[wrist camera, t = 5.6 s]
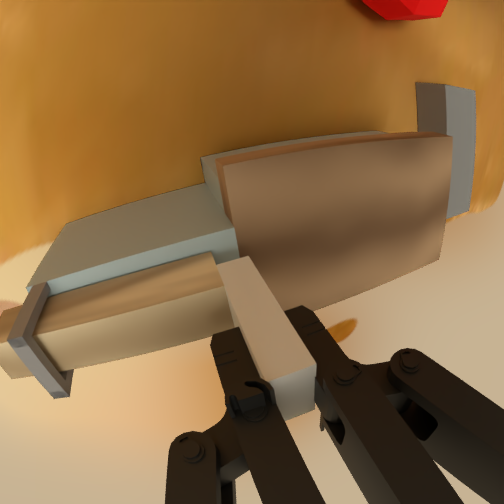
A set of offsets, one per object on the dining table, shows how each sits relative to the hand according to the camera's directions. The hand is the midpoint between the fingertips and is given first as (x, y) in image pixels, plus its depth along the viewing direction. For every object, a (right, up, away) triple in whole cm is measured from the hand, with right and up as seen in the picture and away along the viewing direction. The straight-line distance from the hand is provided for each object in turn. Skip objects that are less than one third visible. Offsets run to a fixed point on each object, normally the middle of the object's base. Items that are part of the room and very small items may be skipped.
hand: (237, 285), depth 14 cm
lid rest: (+21, +13, +13) cm, 28 cm away
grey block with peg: (-8, +4, +8) cm, 12 cm away
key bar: (-7, -1, 0) cm, 7 cm away
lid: (+7, +4, +5) cm, 9 cm away
